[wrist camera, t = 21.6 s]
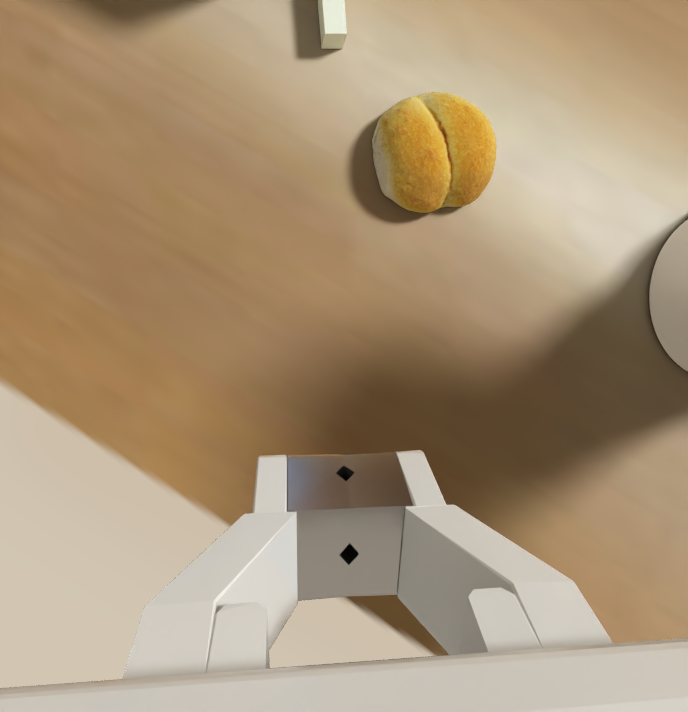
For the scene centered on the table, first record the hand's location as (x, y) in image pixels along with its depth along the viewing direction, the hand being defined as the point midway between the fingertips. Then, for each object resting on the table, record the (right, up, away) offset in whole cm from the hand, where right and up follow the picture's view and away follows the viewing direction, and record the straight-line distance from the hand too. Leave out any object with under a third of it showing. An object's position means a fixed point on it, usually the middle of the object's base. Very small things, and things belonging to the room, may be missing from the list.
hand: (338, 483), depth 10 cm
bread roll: (+6, +17, +30) cm, 35 cm away
